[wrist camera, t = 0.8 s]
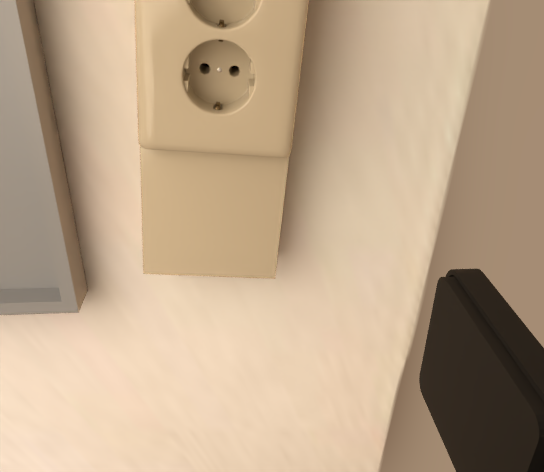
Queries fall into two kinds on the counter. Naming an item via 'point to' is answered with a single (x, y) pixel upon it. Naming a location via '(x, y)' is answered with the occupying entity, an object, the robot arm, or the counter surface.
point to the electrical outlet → (216, 131)
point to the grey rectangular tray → (33, 180)
